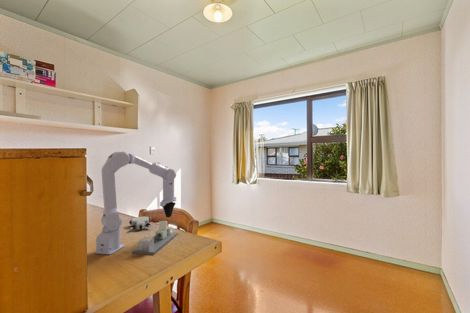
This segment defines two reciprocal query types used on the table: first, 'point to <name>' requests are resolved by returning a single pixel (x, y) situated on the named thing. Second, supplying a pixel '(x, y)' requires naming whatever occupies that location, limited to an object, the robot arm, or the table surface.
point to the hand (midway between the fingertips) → (168, 216)
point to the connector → (146, 244)
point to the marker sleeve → (162, 229)
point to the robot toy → (140, 222)
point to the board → (158, 243)
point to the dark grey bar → (158, 236)
